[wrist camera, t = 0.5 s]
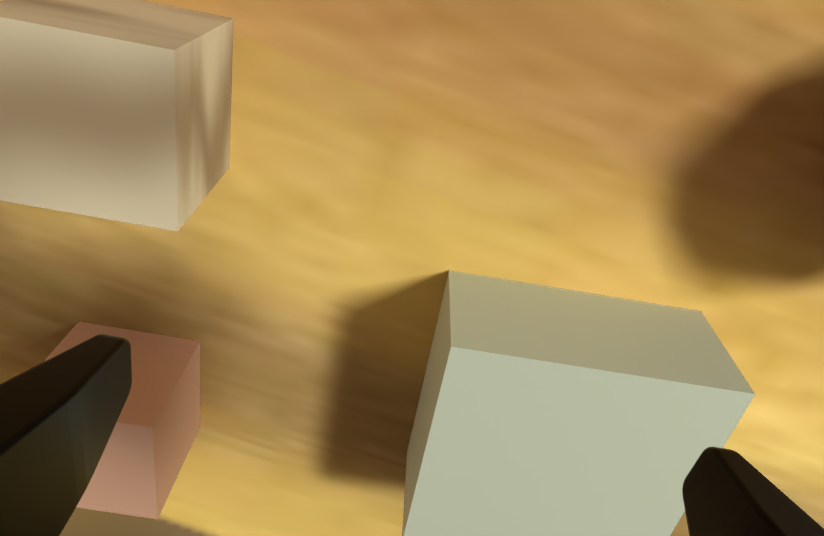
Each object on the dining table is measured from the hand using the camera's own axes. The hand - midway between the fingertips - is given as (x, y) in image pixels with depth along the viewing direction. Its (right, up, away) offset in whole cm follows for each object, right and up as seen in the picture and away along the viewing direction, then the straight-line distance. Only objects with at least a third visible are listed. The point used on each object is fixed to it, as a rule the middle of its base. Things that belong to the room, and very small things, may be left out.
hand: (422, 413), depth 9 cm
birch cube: (-9, +8, +11) cm, 16 cm away
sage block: (+5, -3, +17) cm, 18 cm away
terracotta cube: (-12, -2, +17) cm, 21 cm away
